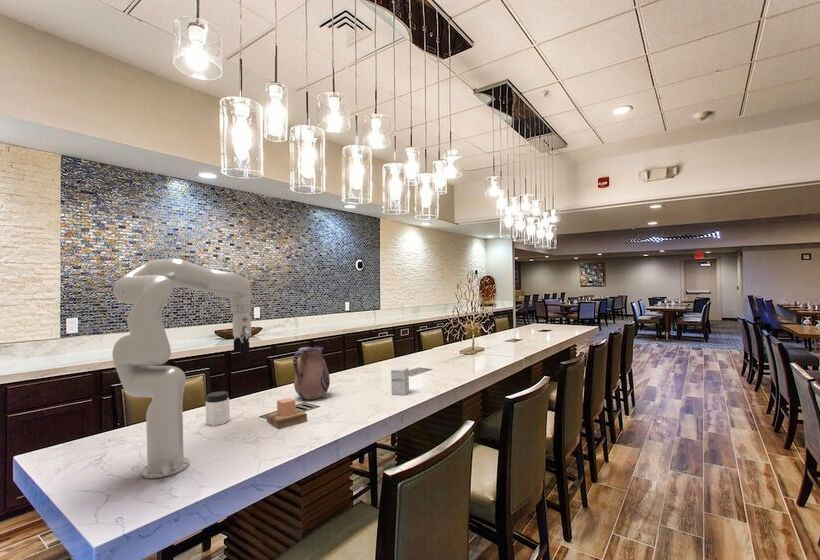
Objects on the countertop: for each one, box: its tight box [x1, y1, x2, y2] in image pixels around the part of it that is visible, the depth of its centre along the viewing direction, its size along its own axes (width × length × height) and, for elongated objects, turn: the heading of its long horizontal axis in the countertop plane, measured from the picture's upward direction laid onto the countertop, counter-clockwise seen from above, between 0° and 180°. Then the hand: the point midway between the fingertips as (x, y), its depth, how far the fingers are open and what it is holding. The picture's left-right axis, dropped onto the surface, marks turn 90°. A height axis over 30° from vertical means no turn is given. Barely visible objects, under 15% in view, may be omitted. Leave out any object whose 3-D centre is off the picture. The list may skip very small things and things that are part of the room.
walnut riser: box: [266, 408, 308, 429], centre depth 160 cm, size 12×12×3 cm
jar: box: [205, 390, 231, 427], centre depth 163 cm, size 9×8×12 cm
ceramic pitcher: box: [292, 346, 331, 401], centre depth 194 cm, size 18×21×25 cm
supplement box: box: [390, 366, 410, 396], centre depth 197 cm, size 7×7×13 cm
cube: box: [276, 397, 297, 417], centre depth 160 cm, size 6×6×6 cm
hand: (241, 351), depth 157 cm, fingers open, 9 cm apart
